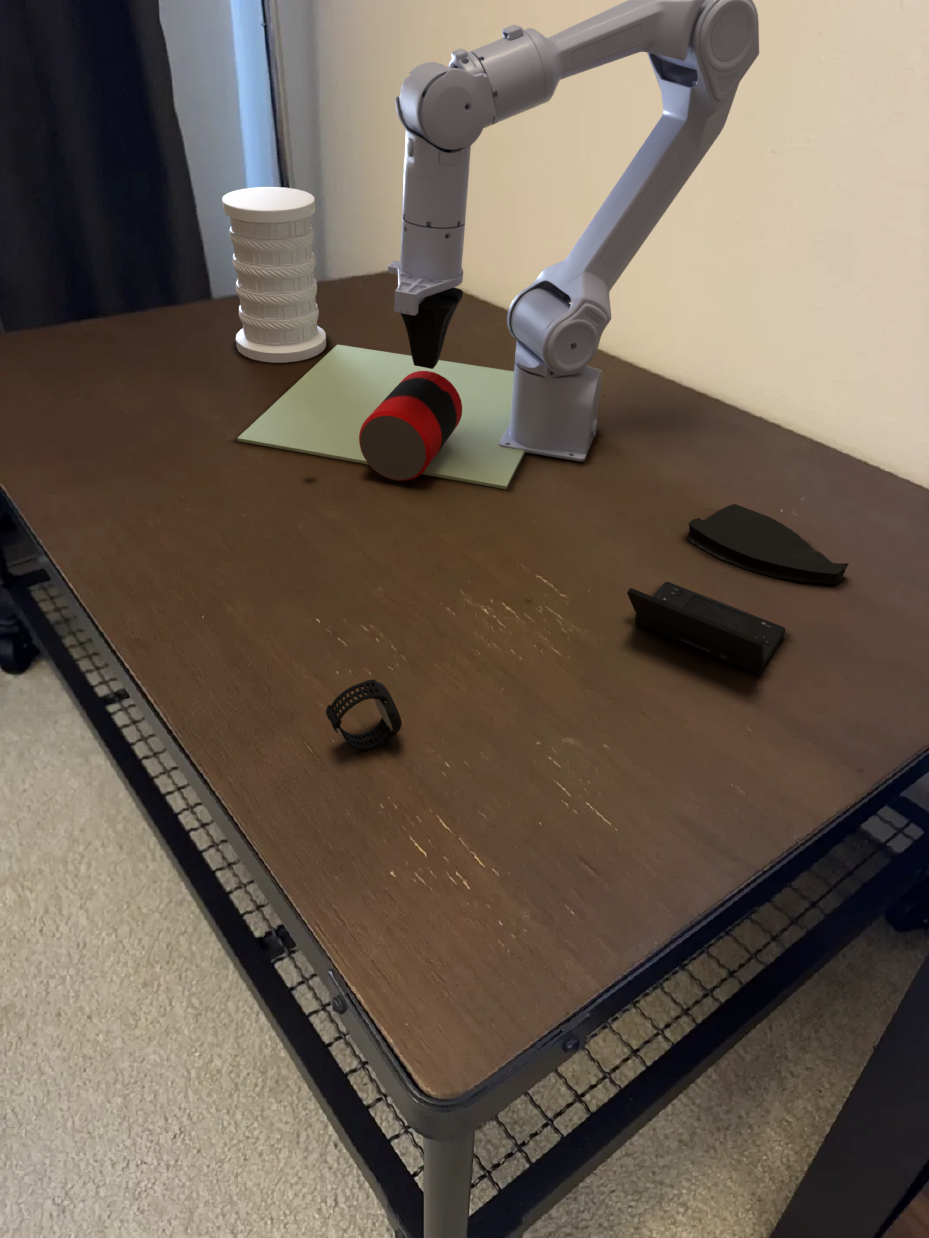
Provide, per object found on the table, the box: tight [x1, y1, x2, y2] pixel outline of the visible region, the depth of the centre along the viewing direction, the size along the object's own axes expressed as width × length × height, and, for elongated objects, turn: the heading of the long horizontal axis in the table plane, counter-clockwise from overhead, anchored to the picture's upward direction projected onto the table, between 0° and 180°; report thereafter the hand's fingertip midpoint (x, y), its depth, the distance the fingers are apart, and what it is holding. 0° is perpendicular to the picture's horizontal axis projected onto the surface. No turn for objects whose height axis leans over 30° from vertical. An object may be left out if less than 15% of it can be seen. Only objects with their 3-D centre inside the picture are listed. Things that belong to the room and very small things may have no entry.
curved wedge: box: [686, 503, 850, 585], centre depth 84 cm, size 8×14×2 cm, turn 41°
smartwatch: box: [325, 678, 403, 751], centre depth 63 cm, size 4×5×5 cm
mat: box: [236, 344, 526, 490], centre depth 105 cm, size 30×28×1 cm
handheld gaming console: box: [626, 581, 786, 675], centre depth 72 cm, size 12×7×10 cm
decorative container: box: [221, 186, 327, 364], centre depth 113 cm, size 12×12×18 cm
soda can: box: [359, 371, 462, 482], centre depth 94 cm, size 8×8×12 cm
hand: (425, 365), depth 90 cm, fingers closed
